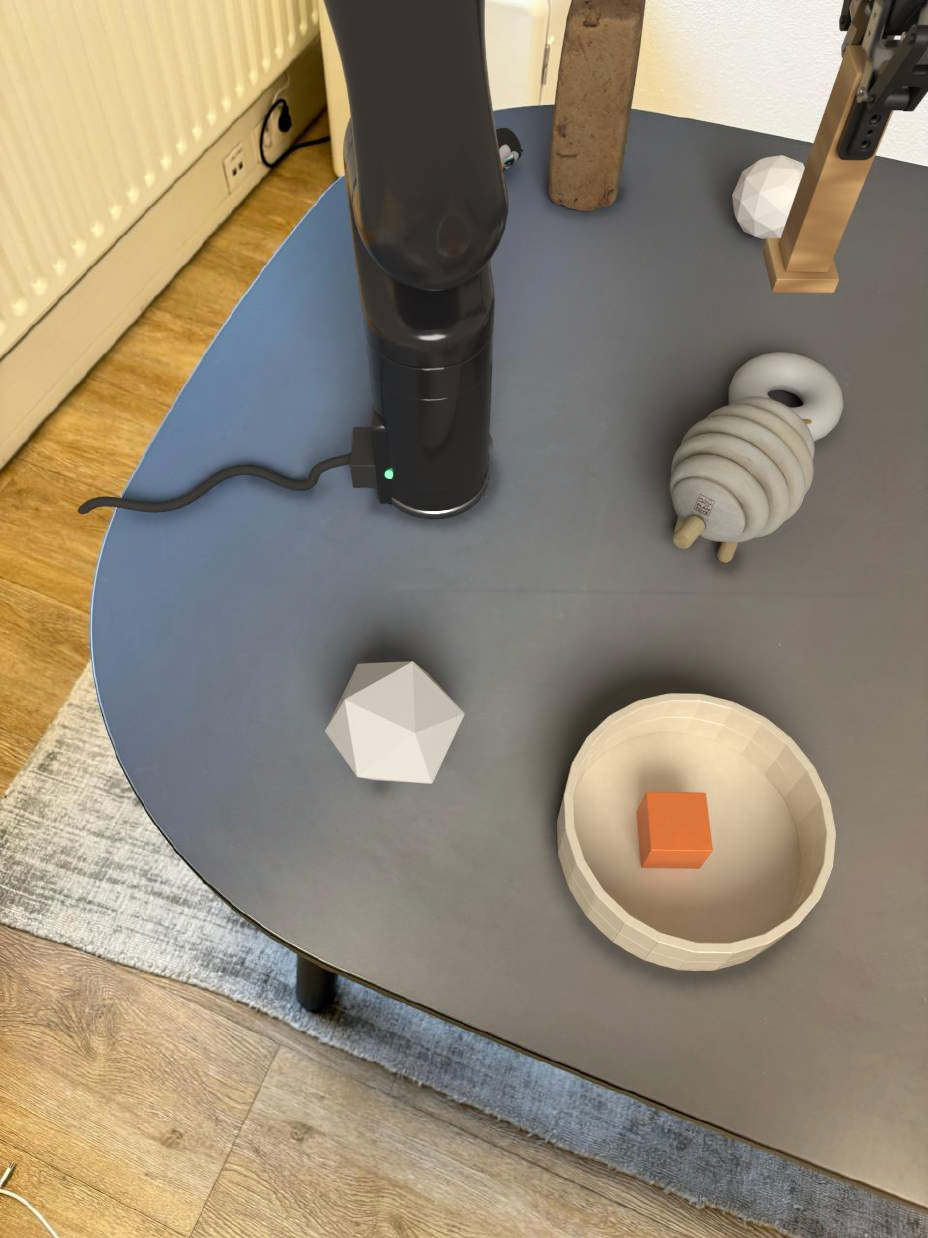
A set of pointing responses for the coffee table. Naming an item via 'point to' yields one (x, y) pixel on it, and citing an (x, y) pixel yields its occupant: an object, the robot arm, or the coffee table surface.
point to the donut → (793, 387)
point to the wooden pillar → (821, 196)
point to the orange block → (674, 830)
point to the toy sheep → (740, 473)
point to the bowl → (739, 823)
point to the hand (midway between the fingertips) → (847, 137)
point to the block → (594, 101)
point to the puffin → (508, 147)
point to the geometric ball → (766, 195)
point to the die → (394, 723)
